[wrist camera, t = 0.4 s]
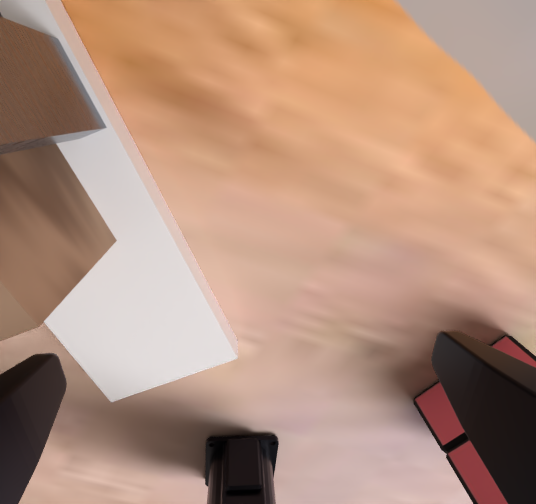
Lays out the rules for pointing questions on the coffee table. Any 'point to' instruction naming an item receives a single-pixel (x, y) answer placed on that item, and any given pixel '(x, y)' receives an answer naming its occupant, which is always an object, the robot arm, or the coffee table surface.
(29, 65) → the tunnel
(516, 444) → the robot arm
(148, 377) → the plate
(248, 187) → the coffee table surface
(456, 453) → the puzzle cube
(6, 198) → the walnut bar
